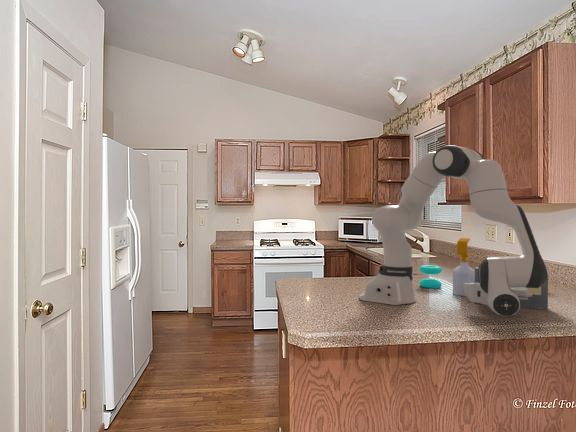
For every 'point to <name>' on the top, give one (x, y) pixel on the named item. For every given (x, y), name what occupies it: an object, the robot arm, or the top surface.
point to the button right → (535, 291)
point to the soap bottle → (462, 269)
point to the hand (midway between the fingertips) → (491, 286)
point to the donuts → (432, 270)
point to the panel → (531, 302)
